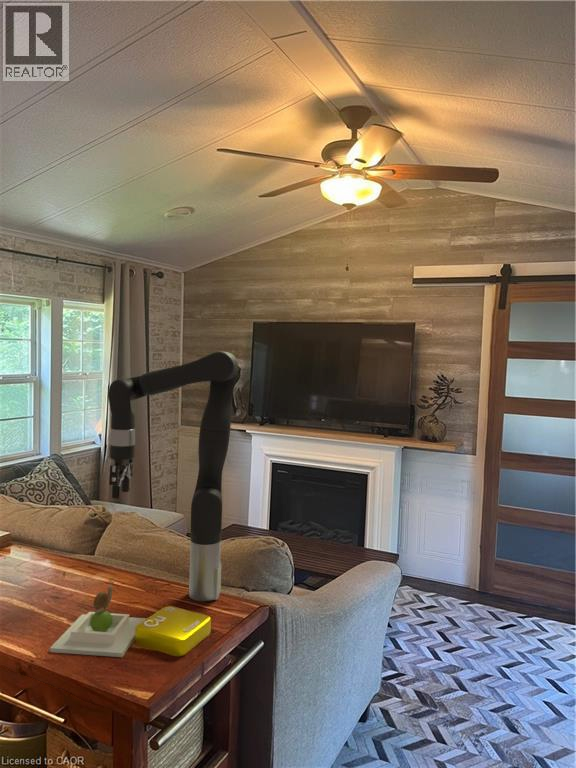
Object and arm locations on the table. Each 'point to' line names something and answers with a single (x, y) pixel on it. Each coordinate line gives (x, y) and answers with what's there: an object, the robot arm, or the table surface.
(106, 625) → the snail figurine
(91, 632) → the collar stand
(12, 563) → the table surface
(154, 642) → the element tile
